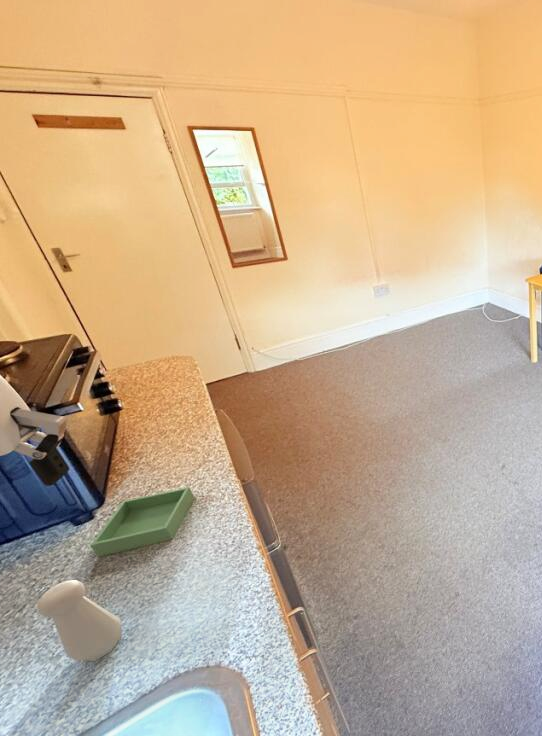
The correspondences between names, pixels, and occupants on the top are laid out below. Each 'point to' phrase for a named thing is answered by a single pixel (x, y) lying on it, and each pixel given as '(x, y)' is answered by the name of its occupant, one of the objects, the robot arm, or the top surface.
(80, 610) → the salt shaker
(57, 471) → the robot arm
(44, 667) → the top surface
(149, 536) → the tray
